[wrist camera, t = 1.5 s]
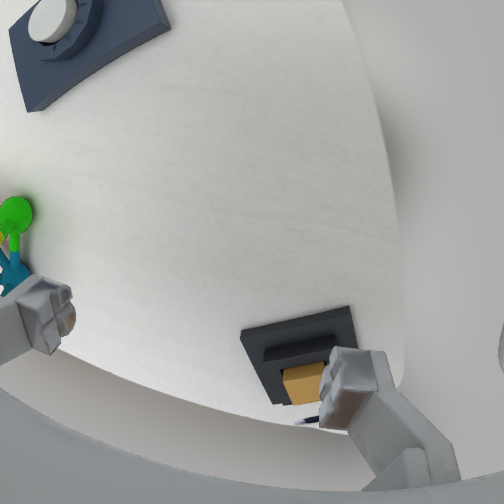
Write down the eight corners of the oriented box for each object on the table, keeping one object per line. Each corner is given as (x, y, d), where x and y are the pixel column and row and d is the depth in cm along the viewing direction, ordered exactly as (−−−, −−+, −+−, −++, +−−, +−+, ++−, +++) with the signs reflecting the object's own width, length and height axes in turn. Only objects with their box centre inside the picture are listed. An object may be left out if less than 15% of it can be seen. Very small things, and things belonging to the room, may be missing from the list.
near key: (73, -13, 14) (61, -17, 13) (82, 23, 15) (70, 19, 14) (37, 17, 15) (25, 14, 14) (45, 52, 16) (32, 51, 15)
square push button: (349, 305, 26) (354, 326, 24) (363, 379, 30) (367, 400, 27) (241, 330, 29) (236, 352, 26) (273, 396, 32) (271, 417, 30)
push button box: (139, -54, 15) (118, -71, 11) (171, 29, 18) (150, 16, 15) (22, 31, 18) (-5, 28, 15) (42, 111, 22) (13, 115, 18)
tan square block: (323, 359, 26) (324, 374, 24) (330, 385, 27) (331, 399, 26) (283, 367, 27) (282, 382, 25) (293, 392, 28) (293, 405, 27)
